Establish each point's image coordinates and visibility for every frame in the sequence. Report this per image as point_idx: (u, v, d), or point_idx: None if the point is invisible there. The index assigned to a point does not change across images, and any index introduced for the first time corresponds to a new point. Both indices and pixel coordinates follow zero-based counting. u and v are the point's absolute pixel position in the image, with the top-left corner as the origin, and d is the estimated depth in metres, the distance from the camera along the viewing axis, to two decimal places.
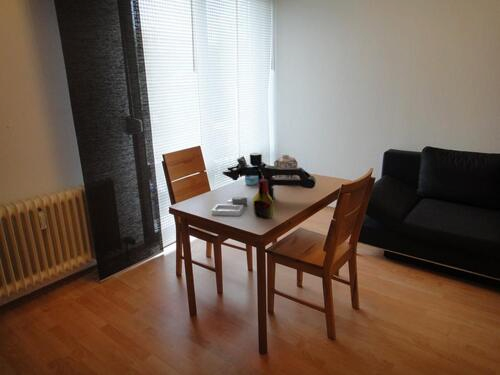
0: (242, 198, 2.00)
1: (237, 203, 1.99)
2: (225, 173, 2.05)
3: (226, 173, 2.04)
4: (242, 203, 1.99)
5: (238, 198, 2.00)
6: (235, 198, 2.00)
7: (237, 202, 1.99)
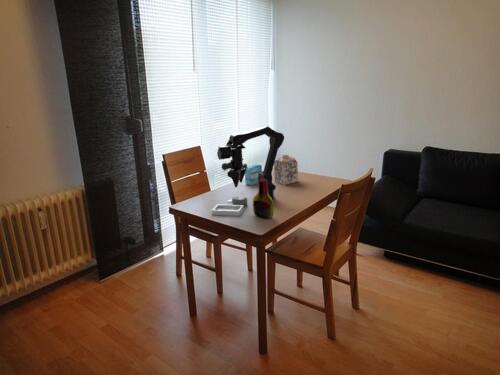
0: (242, 198, 2.00)
1: (237, 203, 1.99)
2: (235, 184, 1.92)
3: (235, 183, 1.92)
4: (242, 203, 1.99)
5: (238, 198, 2.00)
6: (235, 198, 2.00)
7: (237, 202, 1.99)
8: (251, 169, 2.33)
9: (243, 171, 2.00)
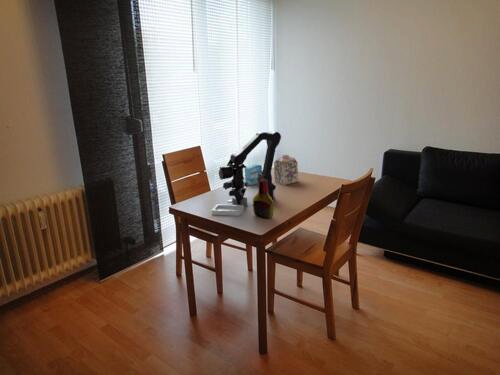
0: (242, 198, 2.00)
1: (237, 203, 1.99)
2: (238, 201, 1.98)
3: (238, 200, 1.98)
4: (242, 203, 1.99)
5: None
6: (235, 198, 2.00)
7: None
8: (251, 169, 2.33)
9: (243, 191, 2.01)
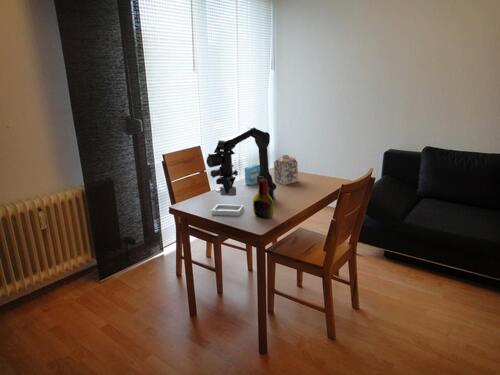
0: (231, 187, 1.87)
1: (225, 192, 1.87)
2: (226, 190, 1.86)
3: (226, 189, 1.85)
4: (231, 192, 1.86)
5: None
6: (223, 187, 1.88)
7: None
8: (251, 169, 2.33)
9: (232, 179, 1.89)
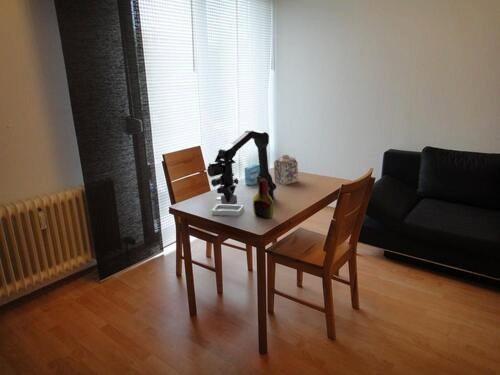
0: (231, 195, 1.89)
1: (226, 201, 1.88)
2: (227, 199, 1.87)
3: (227, 198, 1.87)
4: (231, 201, 1.88)
5: None
6: (224, 196, 1.89)
7: None
8: (251, 169, 2.33)
9: (232, 188, 1.90)
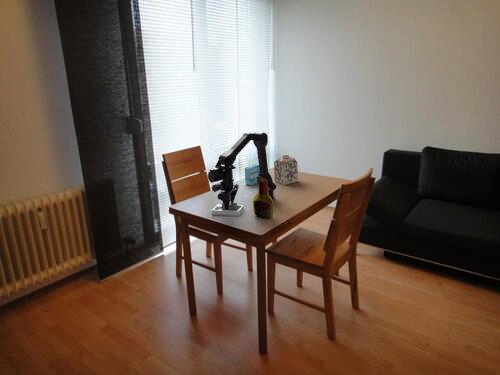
0: (232, 203, 1.90)
1: None
2: (226, 206, 1.85)
3: (226, 205, 1.85)
4: (232, 208, 1.89)
5: None
6: None
7: None
8: (251, 169, 2.33)
9: (234, 192, 1.93)
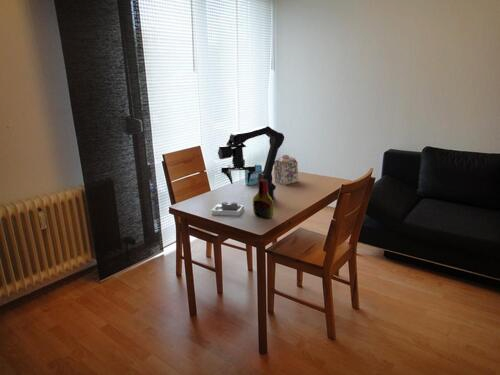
0: (232, 203, 1.90)
1: (227, 208, 1.90)
2: None
3: None
4: (232, 208, 1.89)
5: (228, 203, 1.90)
6: (225, 203, 1.91)
7: (227, 207, 1.89)
8: None
9: None
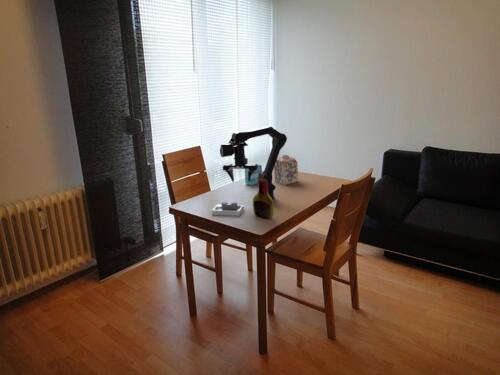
0: (232, 203, 1.90)
1: (227, 208, 1.90)
2: None
3: None
4: (232, 208, 1.89)
5: (228, 203, 1.90)
6: (225, 203, 1.91)
7: (227, 207, 1.89)
8: None
9: None
